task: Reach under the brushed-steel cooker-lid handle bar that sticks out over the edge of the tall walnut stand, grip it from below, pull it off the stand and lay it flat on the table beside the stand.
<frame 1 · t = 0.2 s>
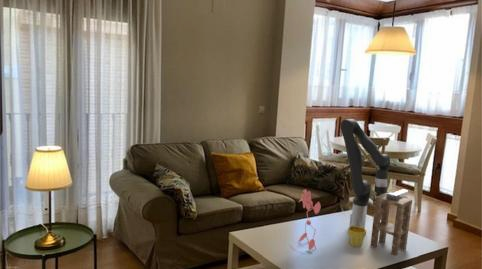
hand: (379, 209, 251), 17 cm above the table, tool pointing down, fingers open, 8 cm apart
plant pot: (355, 244, 238), on the table
walnut stand: (388, 247, 236), on the table
steel handle bar: (398, 196, 235), point 31 cm above the table, touching walnut stand
figurine: (302, 246, 231), on the table
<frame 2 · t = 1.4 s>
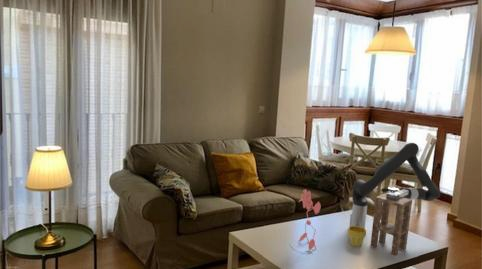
hand: (384, 193, 246), 29 cm above the table, tool horizontal, fingers open, 7 cm apart
nothing on the table moved.
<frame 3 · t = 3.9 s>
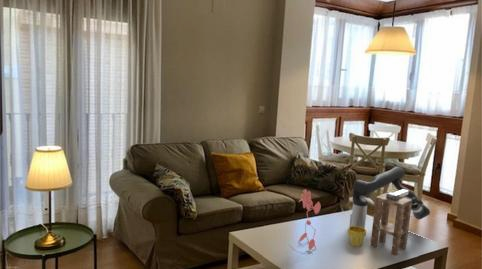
hand: (407, 197, 246), 28 cm above the table, tool pointing upward, fingers open, 8 cm apart
nothing on the table moved.
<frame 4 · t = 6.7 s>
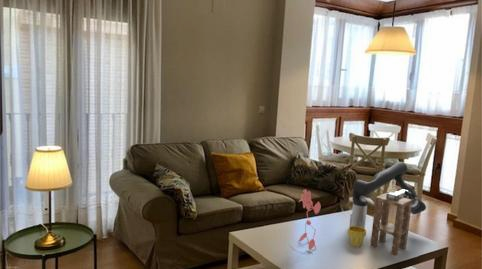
hand: (402, 191, 238), 34 cm above the table, tool pointing upward, fingers closed on steel handle bar, 3 cm apart
steel handle bar: (398, 196, 235), point 31 cm above the table, touching gripper, walnut stand
everything else where it was.
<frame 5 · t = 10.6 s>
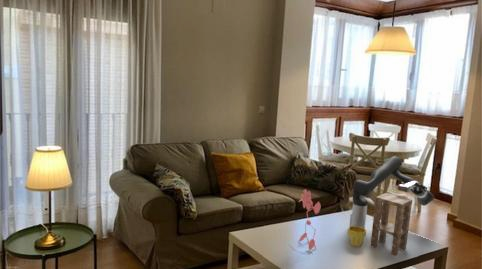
hand: (412, 182, 247), 37 cm above the table, tool pointing upward, fingers closed on steel handle bar, 3 cm apart
steel handle bar: (408, 187, 244), point 34 cm above the table, touching gripper
everything else where it was.
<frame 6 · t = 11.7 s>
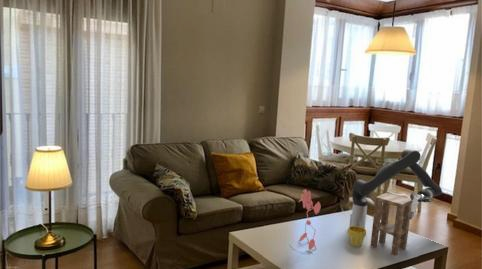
hand: (415, 199, 248), 26 cm above the table, tool horizontal, fingers closed on steel handle bar, 3 cm apart
steel handle bar: (412, 207, 247), point 21 cm above the table, tilted 30°, touching gripper
everything else where it was.
when the fingers open (11 cm above the table, at t = 15.0 s): steel handle bar drops 7 cm, on the table.
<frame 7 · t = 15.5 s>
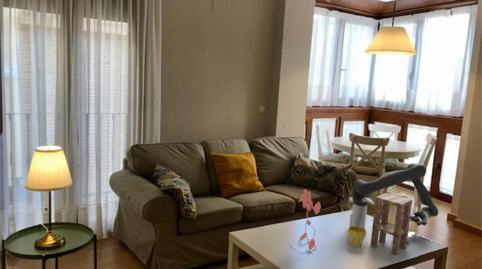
hand: (410, 222, 248), 12 cm above the table, tool horizontal, fingers open, 8 cm apart
steel handle bar: (407, 240, 249), on the table
everything else where it was.
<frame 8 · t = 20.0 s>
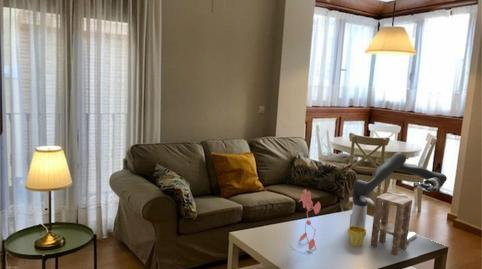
hand: (421, 188, 253), 32 cm above the table, tool horizontal, fingers open, 8 cm apart
nothing on the table moved.
at the end: steel handle bar inside the target area (1.4 cm from its centre), on the table; steel handle bar touching table; the gripper is holding nothing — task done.
